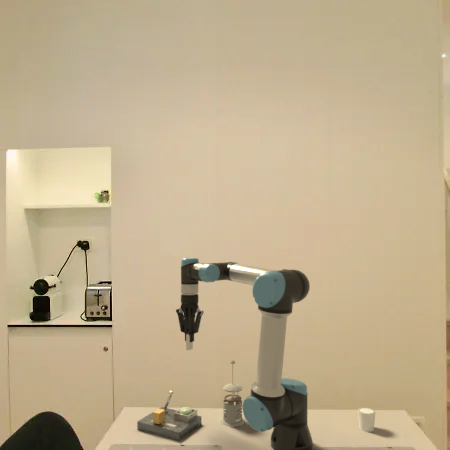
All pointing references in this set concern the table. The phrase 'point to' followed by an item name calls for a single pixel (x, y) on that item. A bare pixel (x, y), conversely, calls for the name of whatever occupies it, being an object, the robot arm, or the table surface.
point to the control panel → (171, 424)
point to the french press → (232, 405)
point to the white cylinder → (366, 419)
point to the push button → (186, 410)
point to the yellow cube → (158, 416)
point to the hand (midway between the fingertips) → (189, 349)
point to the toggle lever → (168, 399)
